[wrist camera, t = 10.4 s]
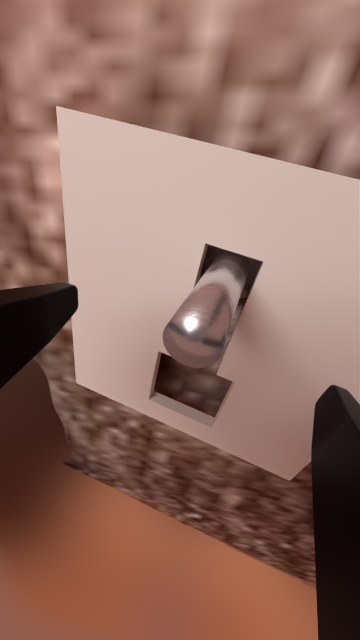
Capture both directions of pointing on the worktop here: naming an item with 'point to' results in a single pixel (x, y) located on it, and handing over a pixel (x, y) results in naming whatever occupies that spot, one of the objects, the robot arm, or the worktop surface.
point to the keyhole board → (184, 272)
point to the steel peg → (210, 308)
